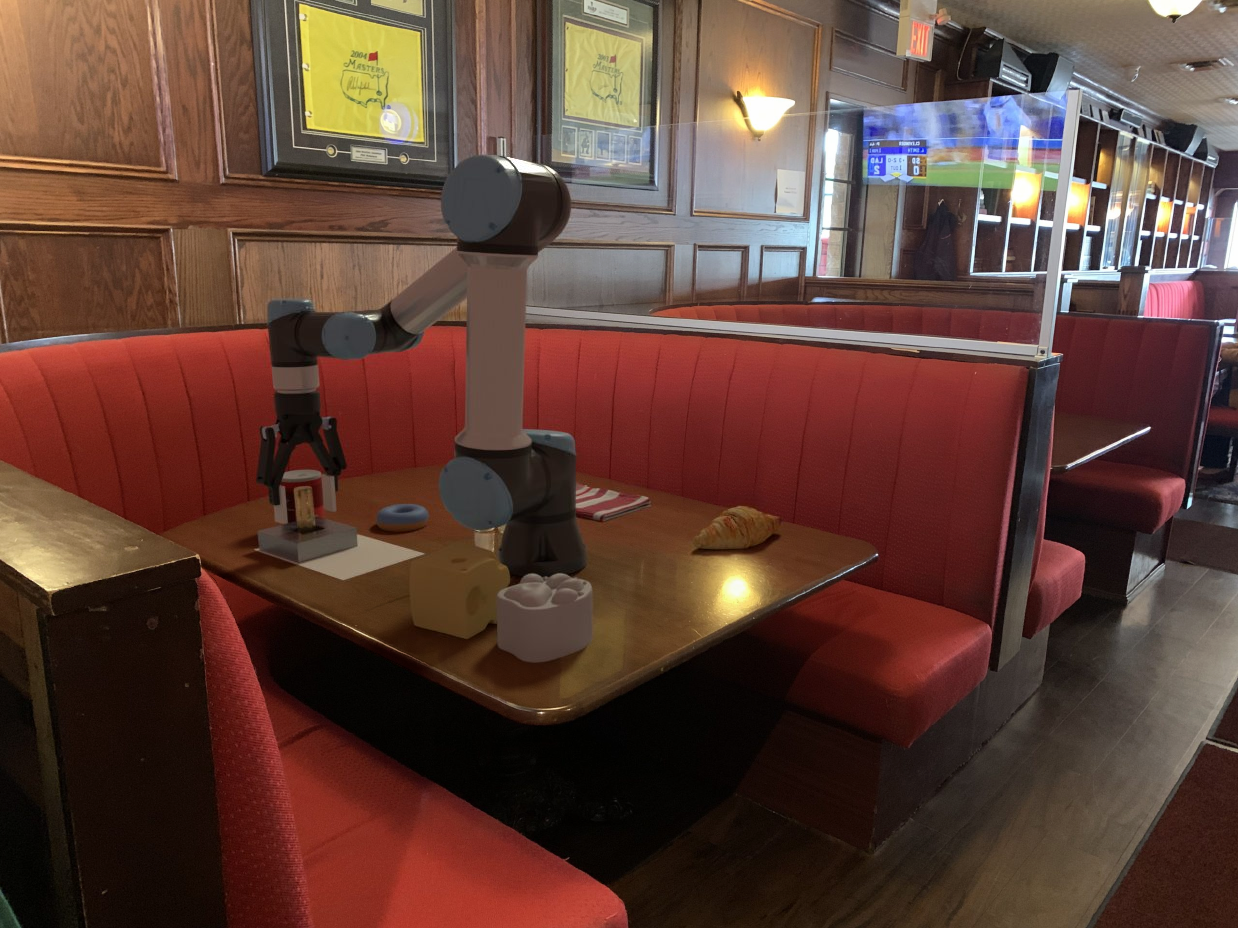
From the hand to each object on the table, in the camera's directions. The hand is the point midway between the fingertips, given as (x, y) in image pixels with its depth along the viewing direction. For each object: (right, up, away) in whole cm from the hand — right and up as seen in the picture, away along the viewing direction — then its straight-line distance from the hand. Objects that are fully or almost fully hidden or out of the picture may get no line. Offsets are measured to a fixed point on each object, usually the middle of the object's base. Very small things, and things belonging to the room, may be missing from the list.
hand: (306, 516), depth 158 cm
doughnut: (+13, -3, +16) cm, 21 cm away
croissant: (+77, -5, +7) cm, 78 cm away
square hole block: (0, -6, +1) cm, 6 cm away
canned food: (-5, -4, +14) cm, 15 cm away
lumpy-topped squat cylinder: (+46, -15, -37) cm, 61 cm away
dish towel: (+48, 0, +33) cm, 58 cm away
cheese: (+33, -14, -30) cm, 47 cm away
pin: (0, -6, +1) cm, 6 cm away
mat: (+6, -7, -1) cm, 9 cm away
